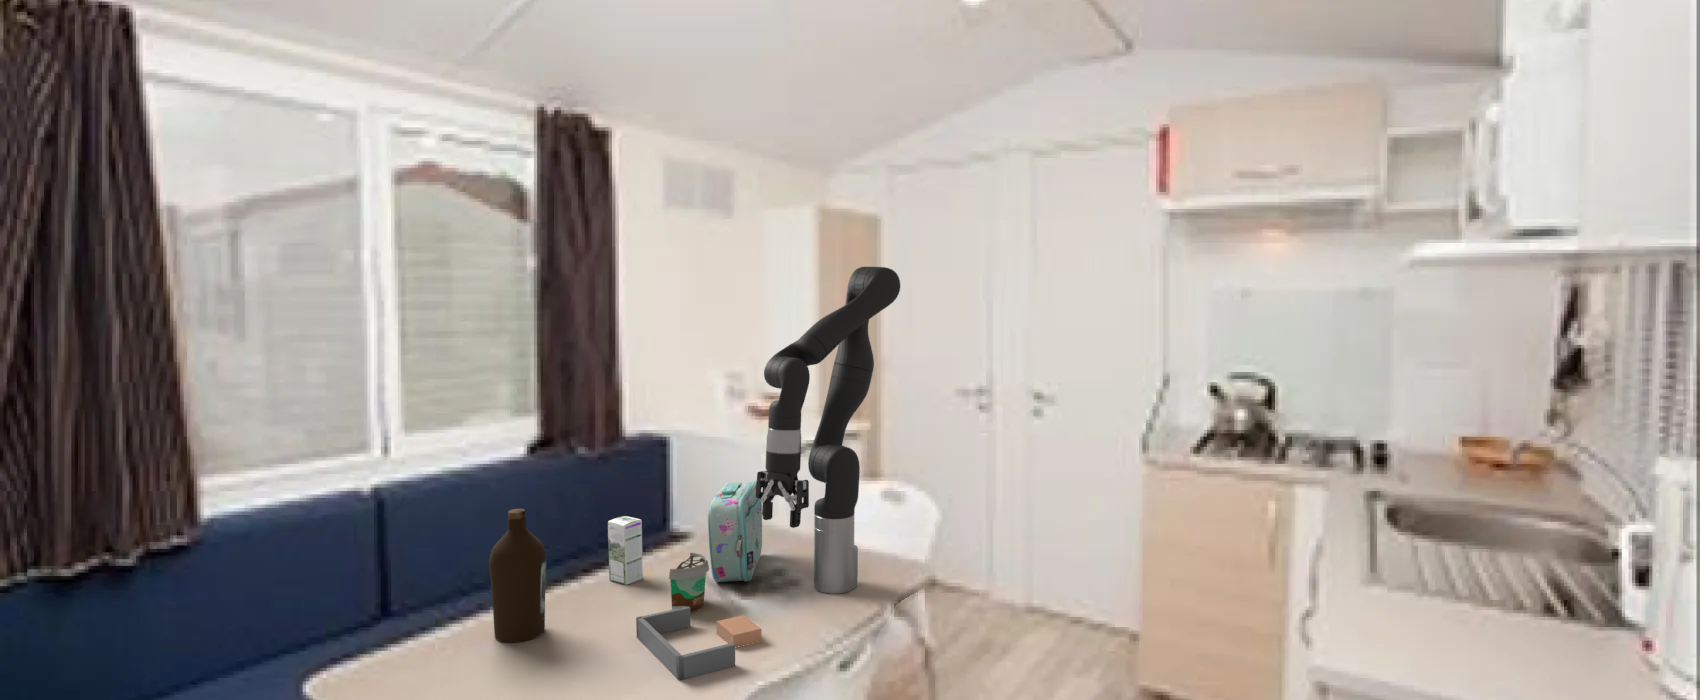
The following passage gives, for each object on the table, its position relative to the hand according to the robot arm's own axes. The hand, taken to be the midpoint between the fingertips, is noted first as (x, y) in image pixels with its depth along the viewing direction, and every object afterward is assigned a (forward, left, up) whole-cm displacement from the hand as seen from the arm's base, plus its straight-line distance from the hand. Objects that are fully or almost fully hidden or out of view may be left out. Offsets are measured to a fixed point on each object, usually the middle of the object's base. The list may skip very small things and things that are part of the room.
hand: (780, 523), depth 190 cm
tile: (+16, +11, -19) cm, 27 cm away
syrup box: (+24, -33, -18) cm, 44 cm away
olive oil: (+52, -14, -18) cm, 56 cm away
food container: (+17, -9, -18) cm, 26 cm away
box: (+27, +11, -18) cm, 34 cm away
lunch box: (-1, -25, -18) cm, 31 cm away
